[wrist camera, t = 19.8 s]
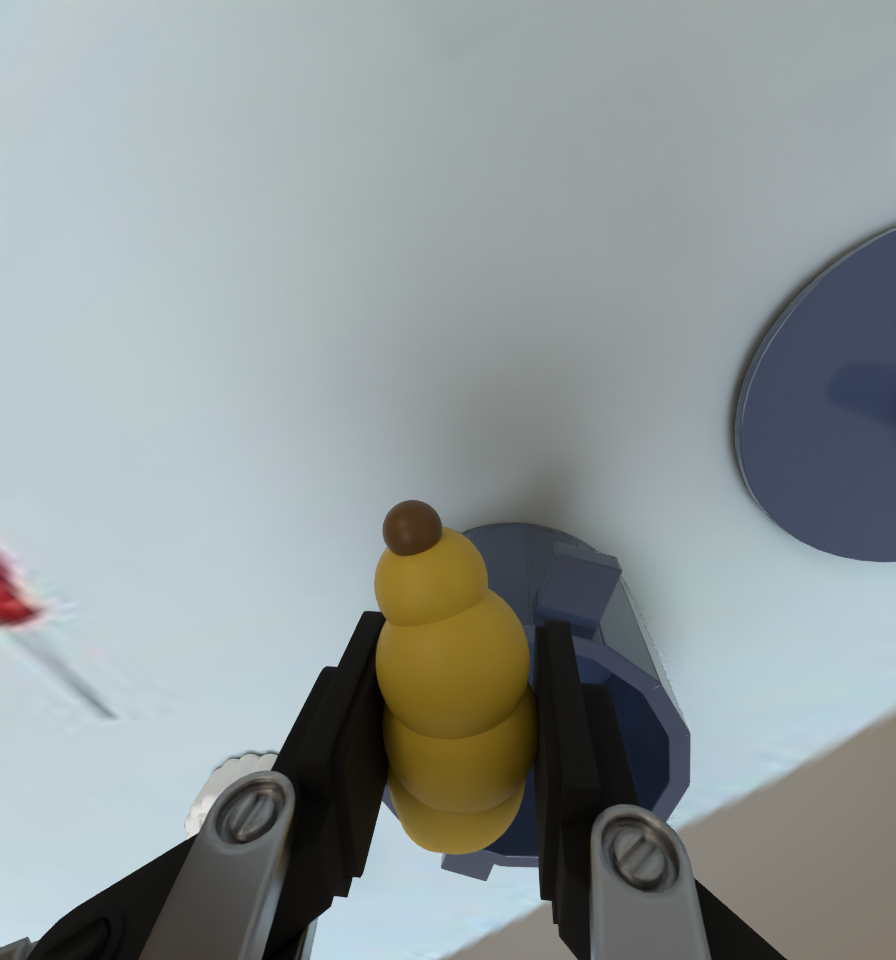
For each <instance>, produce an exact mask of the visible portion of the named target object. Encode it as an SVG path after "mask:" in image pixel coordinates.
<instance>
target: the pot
mask: <svg viewBox="0 0 896 960" xmlns="http://www.w3.org/2000/svg"><path fill="white" fill-rule="evenodd" d="M461 534H462V535H464V536H465V537H466V538H467V539H469V540H470V541H471V542H472V543H473V544H474V546H475V547H476V548H477V550H478V551H479V552H480V554H481V556H482V558H483V560H484V563H485V566H486V570H487V575H488V589H490V590H491V591H493V592H495V593H496V594H497V595H498V596H500V597H501V598H502V599H503V600H504V601H505V602H506V603H507V604H508V605H509V606H510V607H511V608H512V610H513V611H514V612H515V614H516V615H517V617H518V619H519V621H520V622H521V624H522V627H523V629H524V632H525V635H526V637H527V641H528V646H529V652H530V671H529V678H528V681H529V683H530V684H531V686H532V687H533V662H534V638H535V626H544V620H558V621H569V624H570V629H571V634H572V639H573V645H574V650H575V655H576V660H577V666H578V671H579V676H580V682H581V683H592V684H606V685H607V686H608V688H609V691H610V694H611V698H612V702H613V706H614V710H615V714H616V717H617V721H618V725H619V729H620V733H621V737H622V741H623V744H624V748H625V752H626V756H627V760H628V764H629V767H630V771H631V775H632V779H633V783H634V787H635V791H636V794H637V798H638V802H639V806H640V807H641V808H644V809H647V810H649V811H651V812H652V813H654V814H655V815H657V816H659V817H660V818H662V819H663V820H664V821H665V822H666V821H667V820H668V818H669V817H670V815H671V814H672V812H673V810H674V809H675V807H676V806H677V804H678V803H679V801H680V799H681V798H682V796H683V795H684V793H685V792H686V790H687V788H688V787H689V783H690V731H689V729H688V726H687V724H686V721H685V719H684V717H683V714H682V712H681V709H680V707H679V704H678V702H677V700H676V697H675V695H674V692H673V690H672V688H671V685H670V683H669V680H668V678H667V675H666V673H665V671H664V668H663V666H662V663H661V661H660V659H659V656H658V654H657V651H656V649H655V646H654V644H653V642H652V639H651V637H650V634H649V632H648V630H647V627H646V625H645V622H644V620H643V618H642V615H641V613H640V610H639V608H638V606H637V604H636V602H635V600H634V599H633V597H632V595H631V593H630V592H629V589H628V587H627V585H626V583H625V581H624V580H623V579H622V577H621V576H620V575H621V573H622V569H621V567H620V564H619V562H618V559H617V558H616V557H614V556H610V555H606V554H602V553H599V552H597V551H596V550H595V549H594V548H592V547H590V546H589V545H587V544H586V543H584V542H582V541H581V540H579V539H577V538H574V537H572V536H570V535H568V534H566V533H563V532H560V531H557V530H554V529H551V528H547V527H542V526H536V525H530V524H517V523H513V524H496V525H489V526H483V527H479V528H476V529H472V530H469V531H466V532H463V533H461ZM382 801H383V802H384V804H385V805H386V806H387V807H388V808H389V809H390V810H391V812H392V813H393V814H394V815H395V816H396V817H397V819H398V820H399V817H398V815H397V813H396V811H395V808H394V806H393V803H392V801H391V797H390V793H389V788H388V779H387V782H386V786H385V790H384V794H383V797H382ZM399 821H400V820H399ZM494 864H496V865H499V866H505V867H537V868H539V864H538V845H537V826H536V807H535V788H534V769H533V766H532V768H531V769H530V771H529V773H528V775H527V777H526V781H525V789H524V794H523V798H522V801H521V804H520V807H519V810H518V812H517V814H516V816H515V818H514V820H513V822H512V823H511V825H510V826H509V827H508V829H507V830H506V831H505V832H504V834H503V835H501V836H500V837H499V838H498V839H497V840H496V841H495V842H493V843H492V844H490V845H489V846H487V847H485V848H483V849H481V850H479V851H476V852H472V853H468V854H460V855H454V854H446V853H443V854H442V862H441V868H442V869H444V870H448V871H451V872H455V873H458V874H462V875H465V876H469V877H472V878H476V879H479V880H483V881H487V879H488V876H489V874H490V872H491V869H492V867H493V865H494Z"/></svg>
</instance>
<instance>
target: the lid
mask: <svg viewBox="0 0 896 960" xmlns="http://www.w3.org/2000/svg"><path fill="white" fill-rule="evenodd" d="M735 448H736V453H737V459H738V464H739V468H740V471H741V473H742V476H743V479H744V482H745V484H746V486H747V488H748V489H749V491H750V493H751V495H752V497H753V498H754V500H755V501H756V502H757V504H758V505H759V506H760V507H761V509H762V510H763V511H764V512H765V514H766V515H767V516H769V517H770V518H771V519H772V520H773V521H774V522H775V523H776V524H777V525H778V526H780V527H781V528H782V529H783V530H784V531H786V532H787V533H789V534H790V535H792V536H793V537H795V538H796V539H798V540H799V541H801V542H803V543H805V544H807V545H809V546H811V547H814V548H816V549H818V550H821V551H824V552H827V553H830V554H833V555H836V556H840V557H845V558H850V559H855V560H862V561H874V562H896V227H895V228H893V229H891V230H889V231H887V232H885V233H883V234H881V235H878V236H876V237H874V238H872V239H870V240H869V241H867V242H866V243H864V244H862V245H861V246H859V247H857V248H856V249H854V250H853V251H851V252H849V253H848V254H846V255H845V256H843V257H842V258H841V259H839V260H838V261H837V262H835V263H834V264H833V265H831V266H830V267H829V268H828V269H826V270H825V271H824V272H822V273H821V274H820V275H819V276H818V277H817V278H815V279H814V280H813V281H812V282H811V283H810V284H809V285H808V286H807V287H806V288H805V289H804V290H803V291H802V292H801V293H799V294H798V295H797V297H796V298H795V299H794V300H793V301H792V302H791V303H790V305H789V306H788V307H787V308H786V309H785V310H784V312H783V313H782V314H781V315H780V316H779V318H778V319H777V320H776V322H775V323H774V325H773V326H772V328H771V329H770V330H769V332H768V333H767V335H766V336H765V338H764V339H763V341H762V343H761V345H760V347H759V348H758V350H757V352H756V354H755V356H754V358H753V359H752V361H751V364H750V366H749V369H748V371H747V374H746V376H745V379H744V381H743V384H742V388H741V392H740V396H739V400H738V404H737V411H736V419H735Z"/></svg>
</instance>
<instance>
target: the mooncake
mask: <svg viewBox="0 0 896 960" xmlns="http://www.w3.org/2000/svg"><path fill="white" fill-rule="evenodd" d="M277 757H278V755H275V754H265V755H263V756H262V757H260V756H258V755H255V754H246V755H244V756H242V757H241V758H240V759H230V760H227V761H226V762H225V763H224V764H223V766H222V767H221V768H219V769H216V770H215V771H214V772H213V773H212V774H211V776H210V777H209V779H208V781H207V782H206V784H205V785H204V787H203V789H202V790H201V792H200V793H199V795H198V797H197V798H196V800H195V801H194V803H193V805H192V806H191V808H190V813H189V815H188V816H187V818H186V820H185V828H186V830H187V831H188V832H187V835H186V840H187V839H189V838H190V837H192V836H194V835H195V834H197V833H199V831H200V828H201V826H202V824H203V822H204V820H205V818H206V816H207V814H208V812H209V810H210V808H211V807H212V805H213V803H214V802H215V800H216V799H217V797H218V796H219V795H220V794H221V793H222V792H223V791H224V790H225V789H226V788H227V787H228V786H229V785H231V784H232V783H234V782H235V781H237V780H238V779H239V778H241V777H243V776H246V775H248V774H251V773H253V772H258V771H265V770H268V771H270V770H271V768H272V766H273V765H274V763H275V761H276V759H277Z"/></svg>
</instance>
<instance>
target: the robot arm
mask: <svg viewBox="0 0 896 960" xmlns="http://www.w3.org/2000/svg"><path fill="white" fill-rule="evenodd" d="M386 620H387V619H386V618H385V617H384V615H383V614H382V612H375V611H365V612H363V614H362V616H361V618H360V620H359V622H358V624H357V626H356V629H355V631H354V633H353V635H352V637H351V639H350V641H349V643H348V646H347V648H346V650H345V652H344V654H343V656H342V658H341V660H340V663H339V665H338V667H330V666H326V667H325V668H323V670H322V671H321V673H320V674H319V676H318V678H317V680H316V682H315V684H314V686H313V688H312V690H311V692H310V694H309V696H308V698H307V700H306V702H305V704H304V706H303V708H302V710H301V712H300V714H299V716H298V717H297V719H296V721H295V723H294V725H293V727H292V729H291V731H290V733H289V735H288V737H287V739H286V741H285V743H284V745H283V747H282V749H281V751H280V753H279V755H278V757H277V759H276V761H275V763H274V765H273V766H272V768H271V770H270V771H268V770H265V771H258V772H253V773H251V774H248V775H246V776H243V777H241V778H239V779H238V780H237V781H235V782H234V783H232V784H231V785H229V786H228V787H227V788H226V789H225V790H224V791H223V792H222V793H221V794H220V795H219V796H218V797H217V799H216V800H215V802H214V803H213V805H212V807H211V808H210V810H209V812H208V814H207V816H206V818H205V820H204V822H203V824H202V826H201V828H200V831H199V833H197V834H195V835H194V836H192V837H190V838H189V839H187V840H185V841H184V842H182V843H181V844H179V845H177V846H176V847H174V848H172V849H171V850H169V851H167V852H166V853H164V854H163V855H161V856H159V857H158V858H156V859H154V860H153V861H151V862H149V863H148V864H146V865H145V866H143V867H141V868H140V869H138V870H136V871H135V872H133V873H131V874H130V875H128V876H127V877H125V878H123V879H122V880H120V881H118V882H117V883H115V884H113V885H112V886H110V887H109V888H107V889H105V890H104V891H102V892H100V893H99V894H97V895H95V896H94V897H92V898H90V899H89V900H87V901H86V902H84V903H82V904H81V905H79V906H77V907H76V908H75V909H73V910H72V911H71V912H69V913H68V914H66V915H65V916H64V917H62V918H61V919H60V920H59V921H58V922H57V923H56V924H55V925H54V926H53V927H52V928H51V929H50V930H49V931H48V932H47V933H46V934H45V935H44V936H43V937H42V938H41V939H40V940H38V941H36V942H33V943H31V941H30V940H29V938H28V937H26V938H23V939H21V940H18V941H16V942H13V943H11V944H8V945H6V946H3V947H1V948H0V960H310V955H311V951H312V946H313V941H314V936H315V932H316V927H317V920H318V917H319V916H320V915H321V914H322V913H324V912H325V911H326V910H327V909H328V908H330V907H331V904H332V901H333V897H334V896H339V897H348V893H349V889H350V886H351V882H352V878H353V877H358V878H360V877H361V876H362V874H363V871H364V868H365V864H366V860H367V856H368V852H369V848H370V844H371V841H372V837H373V833H374V829H375V825H376V821H377V817H378V813H379V809H380V805H381V801H382V797H383V794H384V790H385V786H386V782H387V768H388V757H387V753H386V750H385V746H384V740H383V731H382V721H383V710H384V705H385V700H384V698H383V696H382V693H381V690H380V687H379V684H378V679H377V674H376V650H377V643H378V640H379V636H380V633H381V630H382V628H383V626H384V624H385V622H386ZM532 689H533V692H534V694H535V697H536V700H537V711H538V749H537V754H536V757H535V760H534V763H533V769H534V788H535V807H536V826H537V845H538V864H539V883H540V897H541V900H548V901H552V910H553V923H554V924H558V926H559V937H560V938H561V939H562V940H563V941H564V943H565V944H566V945H567V946H568V948H569V949H570V950H571V952H572V953H573V954H574V955H575V956H576V958H577V959H578V960H787V959H786V958H784V957H783V956H782V955H781V954H780V953H779V952H778V951H776V950H775V949H774V948H773V947H772V946H771V945H770V944H769V943H767V942H766V941H765V940H764V939H763V938H762V937H761V936H760V935H758V934H757V933H756V932H755V931H754V930H753V929H752V928H750V927H749V926H748V925H747V924H746V923H745V922H744V921H742V920H741V919H740V918H739V917H738V916H737V915H736V914H735V913H733V912H732V911H731V910H730V909H729V908H728V907H727V906H725V905H724V904H723V903H722V902H721V901H720V900H718V898H716V897H715V896H714V895H713V894H712V893H711V892H710V891H708V890H707V889H706V888H705V887H704V886H703V885H702V884H700V883H699V882H698V881H697V880H696V879H695V878H694V876H693V872H692V867H691V862H690V859H689V857H688V854H687V851H686V848H685V846H684V844H683V843H682V841H681V840H680V838H679V837H678V835H677V834H676V832H675V831H674V830H673V829H672V828H671V827H670V826H669V825H668V824H667V823H666V822H665V821H664V820H663V819H662V818H660V817H659V816H657V815H655V814H654V813H652V812H651V811H649V810H647V809H644V808H641V807H640V806H639V802H638V798H637V794H636V791H635V787H634V783H633V779H632V775H631V771H630V767H629V764H628V760H627V756H626V752H625V748H624V744H623V741H622V737H621V733H620V729H619V725H618V721H617V717H616V714H615V710H614V706H613V702H612V698H611V694H610V691H609V688H608V686H607V685H606V684H592V683H581V682H580V676H579V671H578V666H577V660H576V655H575V650H574V645H573V639H572V634H571V629H570V624H569V621H558V620H544V626H535V638H534V662H533V687H532Z"/></svg>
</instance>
